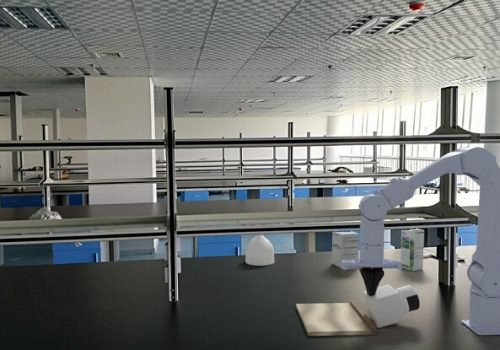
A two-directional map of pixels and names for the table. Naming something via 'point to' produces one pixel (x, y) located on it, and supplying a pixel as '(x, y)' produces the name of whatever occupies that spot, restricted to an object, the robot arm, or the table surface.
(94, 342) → the table surface
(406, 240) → the syrup box
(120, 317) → the table surface
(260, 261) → the teardrop
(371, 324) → the board
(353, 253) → the supplement box
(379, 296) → the medicine bottle
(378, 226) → the robot arm
